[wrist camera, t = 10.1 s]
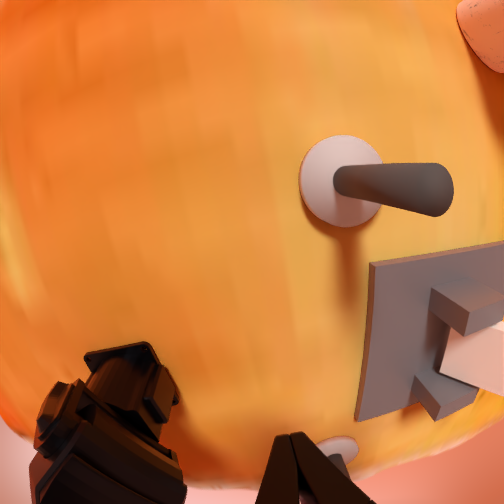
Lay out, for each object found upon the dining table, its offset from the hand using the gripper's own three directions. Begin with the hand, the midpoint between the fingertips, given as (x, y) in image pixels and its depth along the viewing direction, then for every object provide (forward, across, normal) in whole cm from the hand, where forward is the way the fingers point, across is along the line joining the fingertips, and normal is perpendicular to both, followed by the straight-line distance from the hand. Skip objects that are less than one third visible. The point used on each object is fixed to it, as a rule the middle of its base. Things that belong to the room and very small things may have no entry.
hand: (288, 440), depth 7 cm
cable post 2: (+13, -6, -7) cm, 16 cm away
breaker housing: (+13, -18, +7) cm, 23 cm away
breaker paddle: (+12, -16, +7) cm, 21 cm away
